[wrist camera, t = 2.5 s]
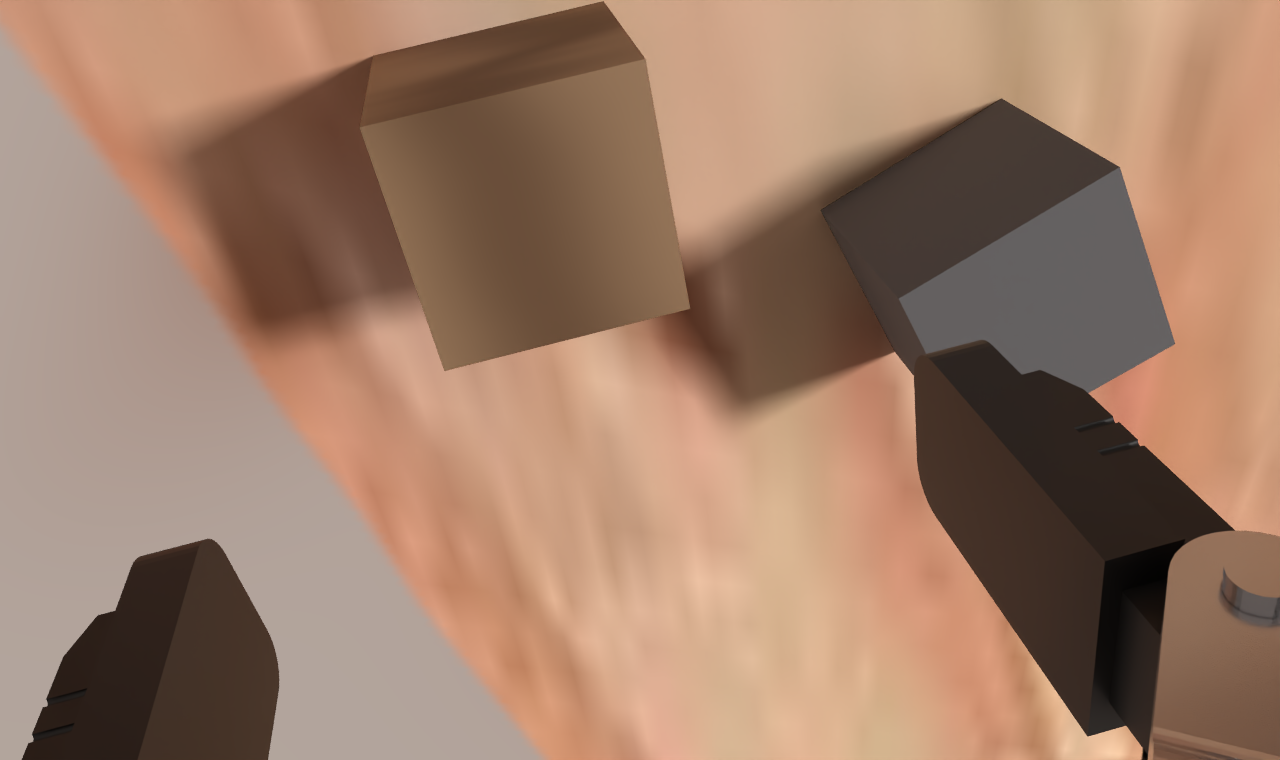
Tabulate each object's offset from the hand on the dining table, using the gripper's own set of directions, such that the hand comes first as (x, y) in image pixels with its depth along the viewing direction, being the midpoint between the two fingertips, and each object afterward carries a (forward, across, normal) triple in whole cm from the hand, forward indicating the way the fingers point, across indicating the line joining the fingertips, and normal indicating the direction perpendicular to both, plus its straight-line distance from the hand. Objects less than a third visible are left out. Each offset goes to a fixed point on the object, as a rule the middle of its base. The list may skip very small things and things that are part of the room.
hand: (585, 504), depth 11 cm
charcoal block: (+13, -10, +5) cm, 18 cm away
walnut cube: (+13, 0, 0) cm, 13 cm away
